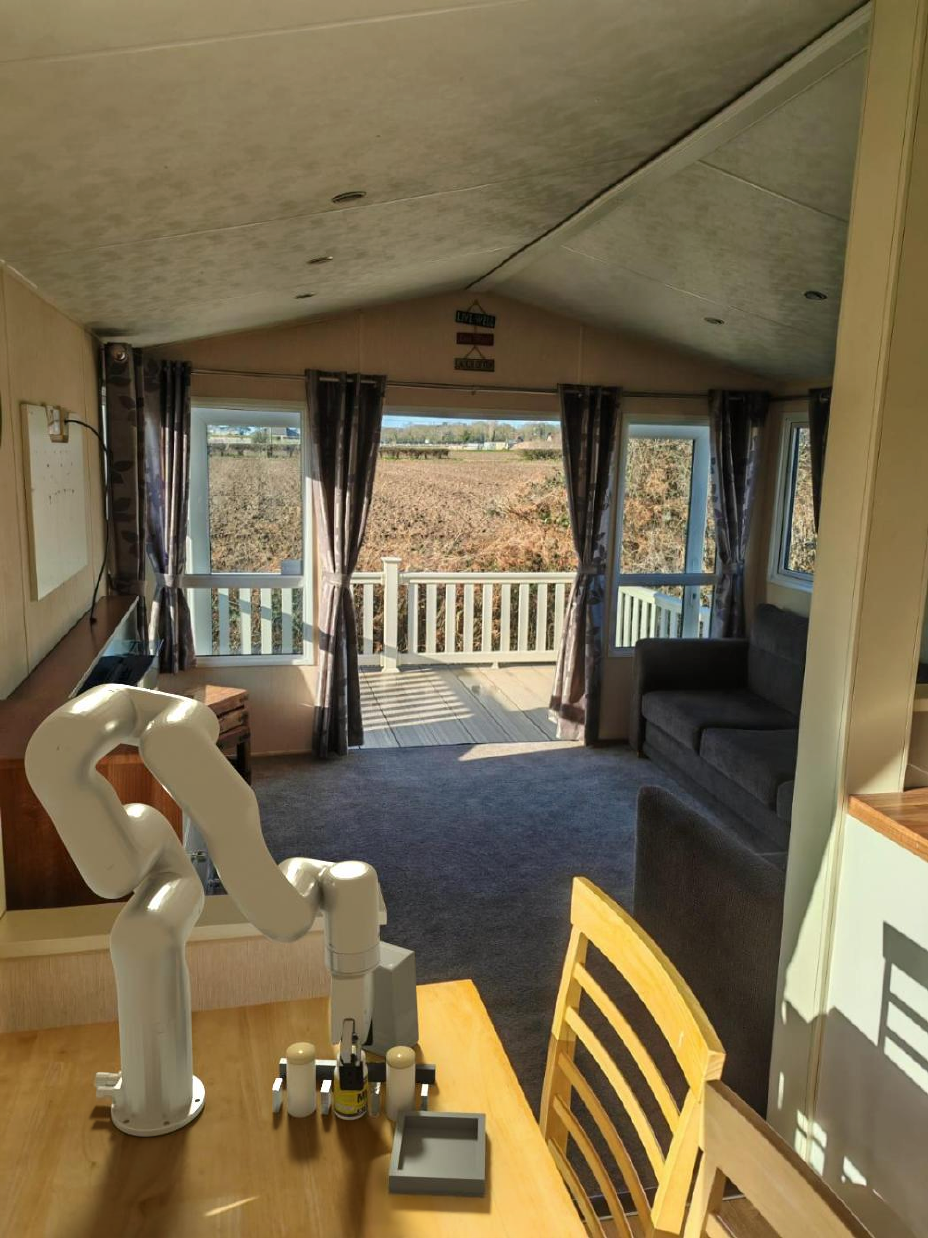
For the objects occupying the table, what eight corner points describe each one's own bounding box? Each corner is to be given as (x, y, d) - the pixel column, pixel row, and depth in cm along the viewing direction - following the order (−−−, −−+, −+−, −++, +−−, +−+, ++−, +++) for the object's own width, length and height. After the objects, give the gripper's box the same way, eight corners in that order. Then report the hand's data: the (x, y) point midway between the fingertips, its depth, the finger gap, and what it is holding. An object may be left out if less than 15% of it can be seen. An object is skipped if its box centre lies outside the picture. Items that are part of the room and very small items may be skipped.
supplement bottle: (361, 1124, 130) (361, 1068, 129) (329, 1118, 131) (328, 1063, 130) (371, 1101, 135) (372, 1047, 134) (340, 1096, 136) (340, 1043, 134)
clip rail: (267, 1112, 132) (267, 1089, 132) (281, 1073, 140) (281, 1052, 140) (431, 1118, 132) (432, 1096, 131) (435, 1079, 140) (435, 1058, 139)
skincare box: (419, 1043, 148) (421, 950, 146) (392, 1067, 143) (393, 970, 140) (377, 1025, 153) (377, 934, 150) (348, 1047, 147) (348, 953, 144)
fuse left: (284, 1117, 131) (283, 1059, 130) (290, 1097, 135) (289, 1041, 134) (312, 1118, 131) (312, 1060, 130) (318, 1098, 135) (317, 1043, 134)
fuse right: (384, 1121, 131) (384, 1063, 129) (387, 1101, 135) (388, 1045, 133) (413, 1122, 131) (413, 1064, 129) (415, 1102, 135) (416, 1046, 133)
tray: (388, 1193, 118) (388, 1175, 118) (398, 1126, 130) (398, 1110, 129) (484, 1197, 118) (484, 1179, 117) (485, 1130, 130) (485, 1113, 129)
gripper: (336, 922, 138) (340, 1029, 141) (313, 988, 121) (319, 1108, 124) (387, 922, 137) (390, 1029, 140) (371, 988, 120) (376, 1108, 123)
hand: (357, 1066), depth 132 cm, fingers open, 9 cm apart
